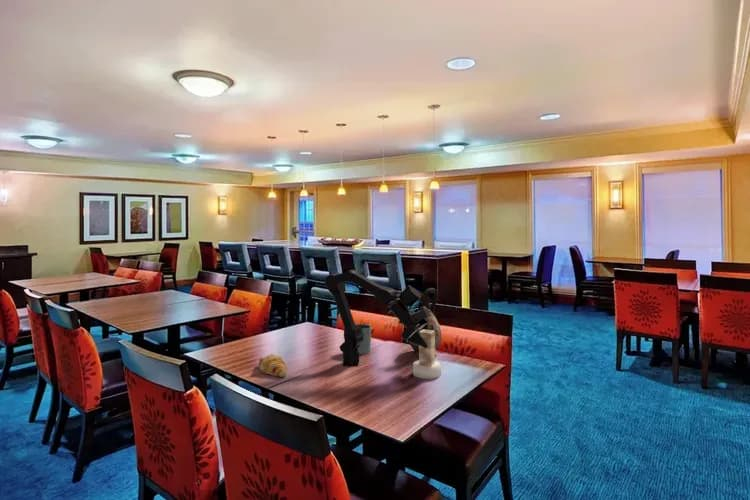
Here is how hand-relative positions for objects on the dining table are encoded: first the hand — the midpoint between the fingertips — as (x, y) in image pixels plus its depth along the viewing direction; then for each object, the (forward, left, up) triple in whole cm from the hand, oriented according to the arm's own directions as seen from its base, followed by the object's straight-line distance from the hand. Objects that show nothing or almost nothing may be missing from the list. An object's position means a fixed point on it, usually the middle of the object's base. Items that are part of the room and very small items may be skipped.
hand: (430, 344), depth 168 cm
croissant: (-63, +10, -12) cm, 65 cm away
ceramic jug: (+4, +29, -12) cm, 31 cm away
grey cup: (-26, +34, -12) cm, 44 cm away
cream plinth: (-1, +1, -12) cm, 12 cm away
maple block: (-1, +1, -8) cm, 8 cm away
